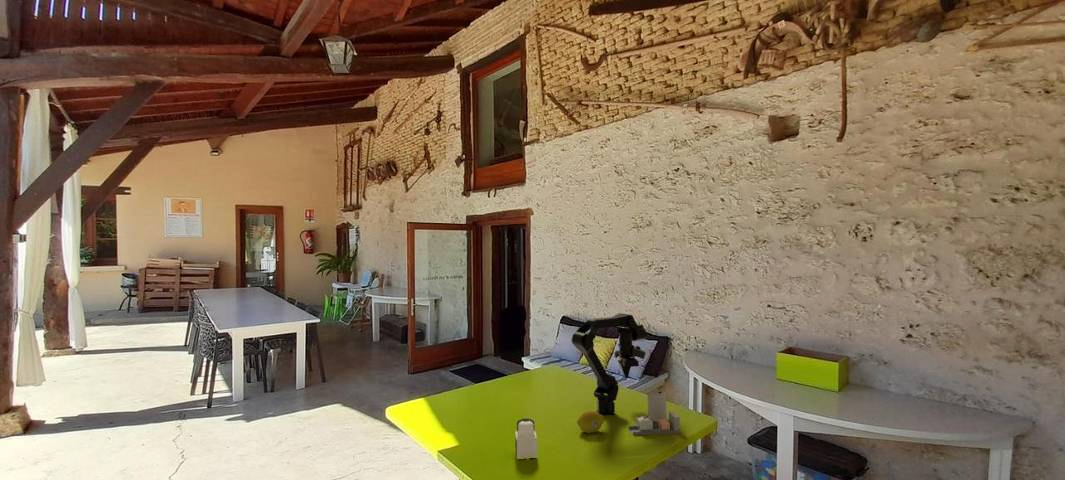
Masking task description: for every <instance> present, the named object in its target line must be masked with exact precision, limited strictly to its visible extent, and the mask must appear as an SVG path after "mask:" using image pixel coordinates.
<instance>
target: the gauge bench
mask: <svg viewBox="0 0 1065 480" xmlns="http://www.w3.org/2000/svg"><path fill="white" fill-rule="evenodd" d="M680 419H681V418H680V416H679V415H678V414H677V413H676V412H675V411H673V410H671V411H668V422H669V423H670V430H659V423H657V424H656V423H655V424H654V423H653V430H651V431H638V430H637V429H636V424H635V425H628V430H629V431H630V433H631V434H632V436H645V435H646V436H648V435H667V434H681V428H680V427H681V422H680V421H681V420H680Z"/></svg>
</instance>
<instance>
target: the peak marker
mask: <svg viewBox="0 0 1065 480" xmlns="http://www.w3.org/2000/svg"><path fill="white" fill-rule="evenodd" d="M657 424H659V430H670V423H669V420H668V419H667V420H666V419H658V423H657Z"/></svg>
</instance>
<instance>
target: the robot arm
mask: <svg viewBox="0 0 1065 480" xmlns="http://www.w3.org/2000/svg"><path fill="white" fill-rule="evenodd" d="M613 327H618V328H617V329H615V331H614V332H615V333H616V334H618V342H619V343H617V346H618V348H619V350H616V351H614V353H613V354H614V355H613V356H614V358H615V359H617V358H619V359H618V360H617V362H618V364H619V367H620V370H621V372H622V374H623V376H624V378H625V379H628V378H629V375H630V371H631V367H632V368H633V367H639V366H640V361H638V359H637V358H640V359H641V360H644V359H645V357H646V354H647V352H646V351H645V350H643V349H641V346H639V345H635V346H634V345H633V342H637V341H643V340H645V339H647V335H648V334H647V333H648V332H647V331H646V329H645V328H644V324H640V323H639V324H638V323H637V321H635V318H634V316H633V314H628V313H621V312H620V313H617V314H615V315H613V316H609V317H601V318H599V317H598V318H588V319H587V320H586V321H585V323H583V325H581V326H579V327H578V328H577V330H576V331H575V332H574V333H573V334H572V337H571V343H572V345H573V346H574V347H575V348H576V349H577V350H578V351H579V352H581V353H582V354H583V356H584V358H585V360H586V361H587V363H588V365H589V367H590V368H591V371H592V372H593V374H594V376H595V377H596V385H597V387H596V388H595V390H594V392H593V396H594V397H595V398H597V403H596V405H597V407H596V408H597V409H596V412H597V413H599V414H601V415H603V416H604V417H605V416H615V411H616V409H615V408H616V407H615V406H616V405H615V402H614V401H616V400H617V397H618V392H619V389H620V387H619V382H618V381H617V379H616V377H615V375H612V374H608V373H607V371H606V369H605V367H604V366H603V363H602V362H601V360H600V358H599V356H598V354H597V353H596V351H595V349H594V347H595V344H594V343H595V342H594V340H595V338H596V336H597V331H598V330H599V329H604V328H605V329H606V328H613ZM588 331H589V332H588ZM636 357H637V358H636Z"/></svg>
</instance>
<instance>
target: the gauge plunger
mask: <svg viewBox="0 0 1065 480" xmlns="http://www.w3.org/2000/svg"><path fill="white" fill-rule="evenodd" d="M635 419H636V420H635V423H636V424H635V425H636V429H637V430H638V431H651V430H653V425H654V422H653V421H652V420H651V419H650V418H649V417H648V415H646V416H644V415H643V416H639V417H636V418H635Z"/></svg>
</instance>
